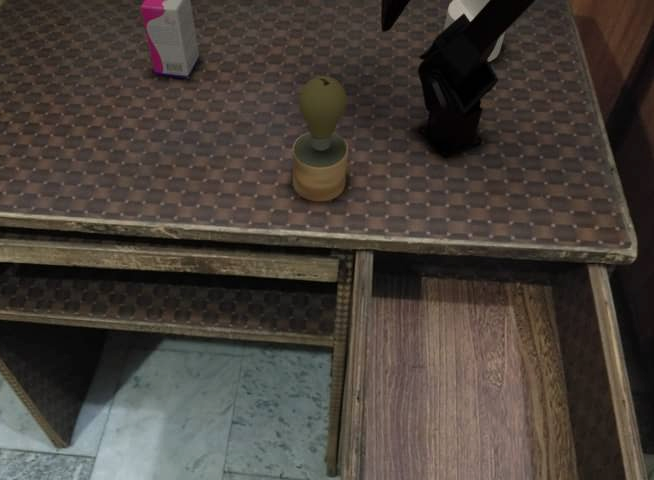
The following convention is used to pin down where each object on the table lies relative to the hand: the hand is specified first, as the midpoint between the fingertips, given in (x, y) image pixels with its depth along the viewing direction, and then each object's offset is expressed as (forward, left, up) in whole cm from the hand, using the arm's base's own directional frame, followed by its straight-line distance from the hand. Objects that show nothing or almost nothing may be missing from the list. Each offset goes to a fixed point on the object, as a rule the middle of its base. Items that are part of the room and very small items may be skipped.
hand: (367, 12), depth 84 cm
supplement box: (+20, +22, -13) cm, 32 cm away
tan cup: (-13, +14, -13) cm, 23 cm away
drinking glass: (+2, -21, -13) cm, 24 cm away
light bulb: (-13, +14, -7) cm, 20 cm away
